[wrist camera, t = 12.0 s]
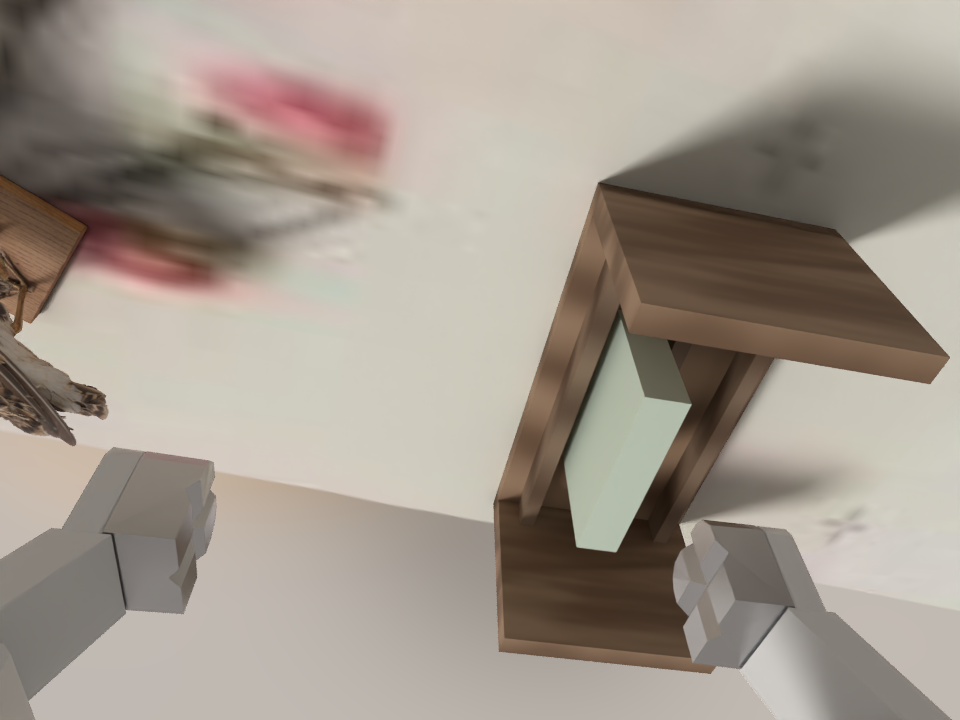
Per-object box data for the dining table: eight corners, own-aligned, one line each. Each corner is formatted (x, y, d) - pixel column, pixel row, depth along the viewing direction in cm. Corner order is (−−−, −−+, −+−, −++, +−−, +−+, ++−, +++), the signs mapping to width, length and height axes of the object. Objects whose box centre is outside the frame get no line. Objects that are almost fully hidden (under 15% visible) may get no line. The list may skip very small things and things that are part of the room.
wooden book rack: (598, 182, 38) (641, 302, 29) (835, 229, 40) (950, 357, 31) (493, 503, 54) (498, 651, 44) (668, 526, 55) (710, 673, 46)
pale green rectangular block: (618, 309, 42) (644, 397, 36) (658, 316, 42) (691, 404, 36) (562, 452, 49) (576, 547, 43) (597, 458, 49) (616, 552, 43)
